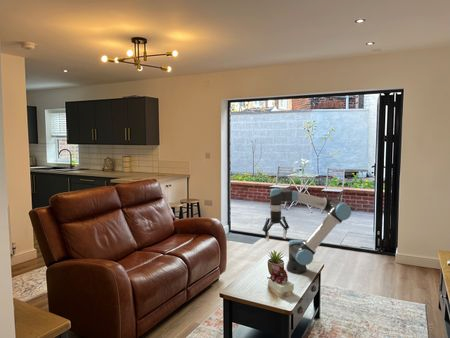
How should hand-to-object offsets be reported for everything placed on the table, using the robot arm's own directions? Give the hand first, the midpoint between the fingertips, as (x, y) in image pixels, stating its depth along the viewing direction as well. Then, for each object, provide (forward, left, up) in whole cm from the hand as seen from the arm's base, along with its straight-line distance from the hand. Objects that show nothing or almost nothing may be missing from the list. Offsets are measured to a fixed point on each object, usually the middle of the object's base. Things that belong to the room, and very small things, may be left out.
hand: (276, 239), depth 249 cm
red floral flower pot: (+8, +20, -21) cm, 31 cm away
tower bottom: (+8, +21, -29) cm, 37 cm away
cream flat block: (+8, +21, -25) cm, 34 cm away
